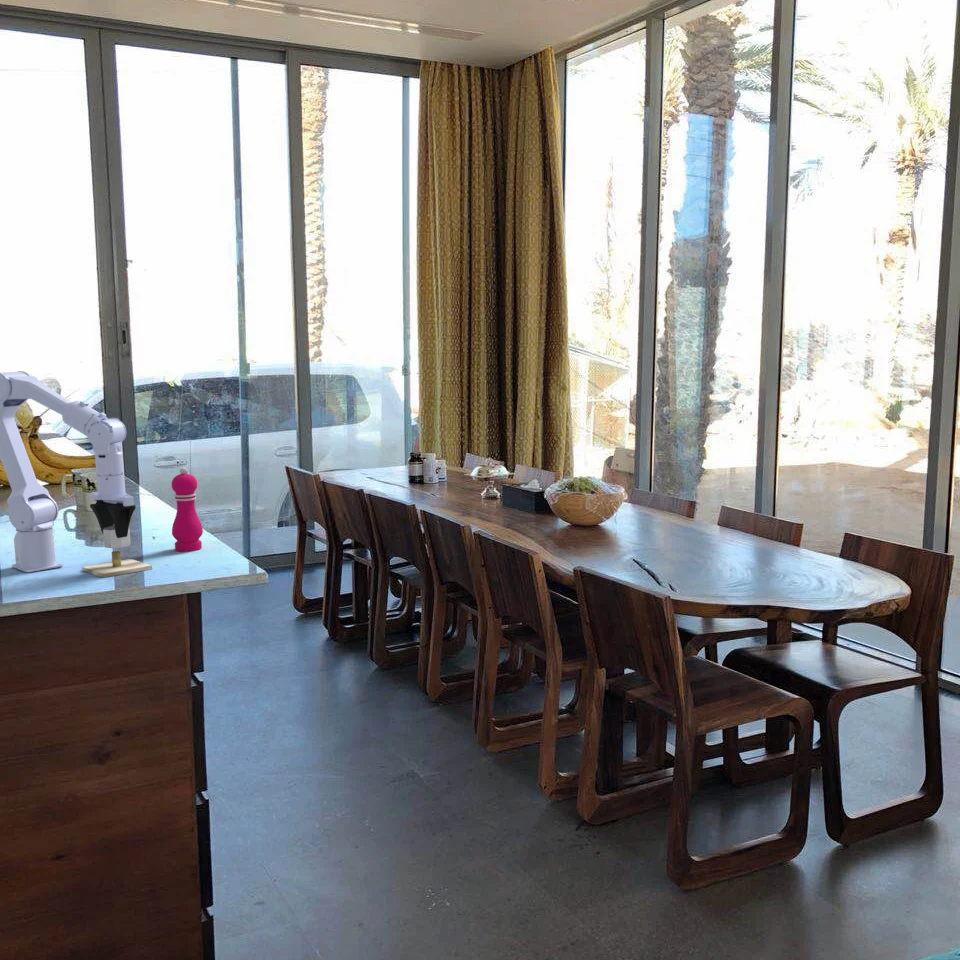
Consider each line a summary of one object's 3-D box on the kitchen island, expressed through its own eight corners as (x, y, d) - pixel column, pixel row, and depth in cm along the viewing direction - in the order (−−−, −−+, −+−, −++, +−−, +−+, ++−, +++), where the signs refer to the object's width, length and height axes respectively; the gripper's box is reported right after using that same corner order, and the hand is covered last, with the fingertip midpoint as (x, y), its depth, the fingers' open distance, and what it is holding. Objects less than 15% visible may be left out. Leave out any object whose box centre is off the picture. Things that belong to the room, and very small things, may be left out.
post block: (82, 570, 218) (80, 552, 218) (129, 562, 226) (128, 544, 225) (103, 577, 210) (102, 559, 210) (152, 568, 218) (151, 551, 218)
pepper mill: (210, 547, 241) (205, 466, 238) (187, 553, 235) (182, 469, 232) (189, 545, 245) (184, 465, 242) (166, 550, 239) (161, 468, 236)
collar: (106, 543, 220) (105, 526, 219) (131, 541, 221) (129, 524, 220) (103, 548, 215) (102, 530, 214) (128, 546, 216) (127, 528, 215)
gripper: (76, 474, 217) (81, 535, 219) (110, 478, 208) (114, 542, 209) (106, 470, 222) (110, 530, 224) (140, 475, 213) (145, 536, 215)
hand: (114, 535), depth 217 cm, fingers closed on collar, 5 cm apart
